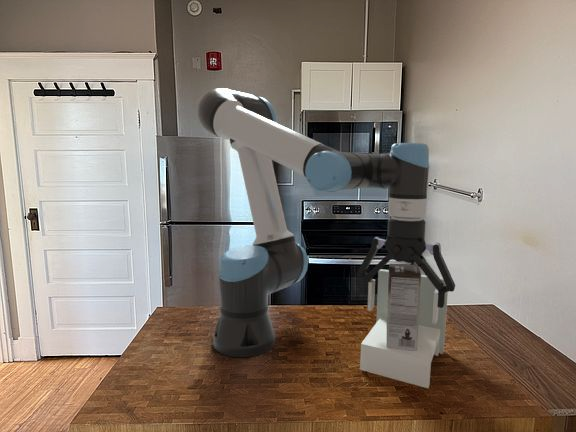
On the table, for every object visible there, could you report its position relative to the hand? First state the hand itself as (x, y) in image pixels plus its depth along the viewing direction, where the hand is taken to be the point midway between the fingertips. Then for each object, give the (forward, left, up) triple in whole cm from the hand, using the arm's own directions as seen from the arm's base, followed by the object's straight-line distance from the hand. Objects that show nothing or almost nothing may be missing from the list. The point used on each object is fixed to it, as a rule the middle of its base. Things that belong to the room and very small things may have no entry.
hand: (401, 314), depth 81 cm
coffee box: (0, 0, -6) cm, 6 cm away
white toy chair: (0, +2, -12) cm, 12 cm away
